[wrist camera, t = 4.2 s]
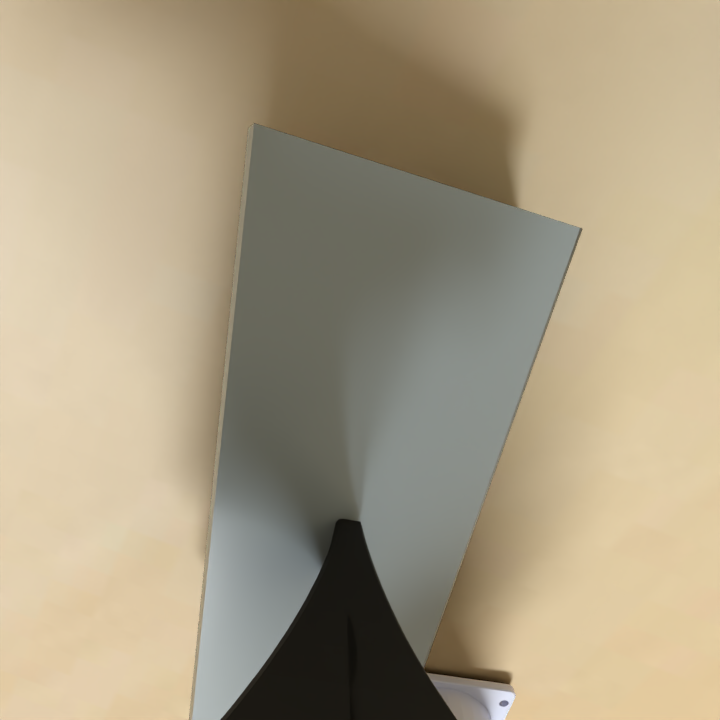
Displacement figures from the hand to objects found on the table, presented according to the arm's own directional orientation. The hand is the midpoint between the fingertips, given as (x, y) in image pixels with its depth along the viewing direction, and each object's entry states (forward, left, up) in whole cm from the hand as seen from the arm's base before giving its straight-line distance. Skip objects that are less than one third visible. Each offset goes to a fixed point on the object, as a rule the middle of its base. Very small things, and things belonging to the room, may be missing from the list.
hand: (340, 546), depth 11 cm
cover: (0, -1, -1) cm, 1 cm away
